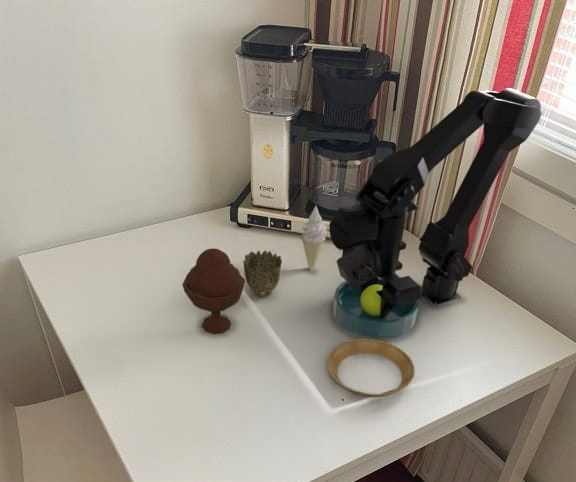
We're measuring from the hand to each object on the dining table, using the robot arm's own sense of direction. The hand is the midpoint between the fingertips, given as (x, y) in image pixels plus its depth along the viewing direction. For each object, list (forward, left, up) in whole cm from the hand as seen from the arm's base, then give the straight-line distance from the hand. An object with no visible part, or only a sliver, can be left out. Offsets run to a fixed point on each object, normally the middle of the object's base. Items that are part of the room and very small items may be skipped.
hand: (374, 308), depth 117 cm
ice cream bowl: (+29, -9, -2) cm, 30 cm away
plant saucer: (+10, +15, -2) cm, 18 cm away
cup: (+17, -15, -2) cm, 23 cm away
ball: (0, 0, -1) cm, 1 cm away
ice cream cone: (+4, -19, -2) cm, 19 cm away
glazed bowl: (0, 0, -2) cm, 2 cm away
